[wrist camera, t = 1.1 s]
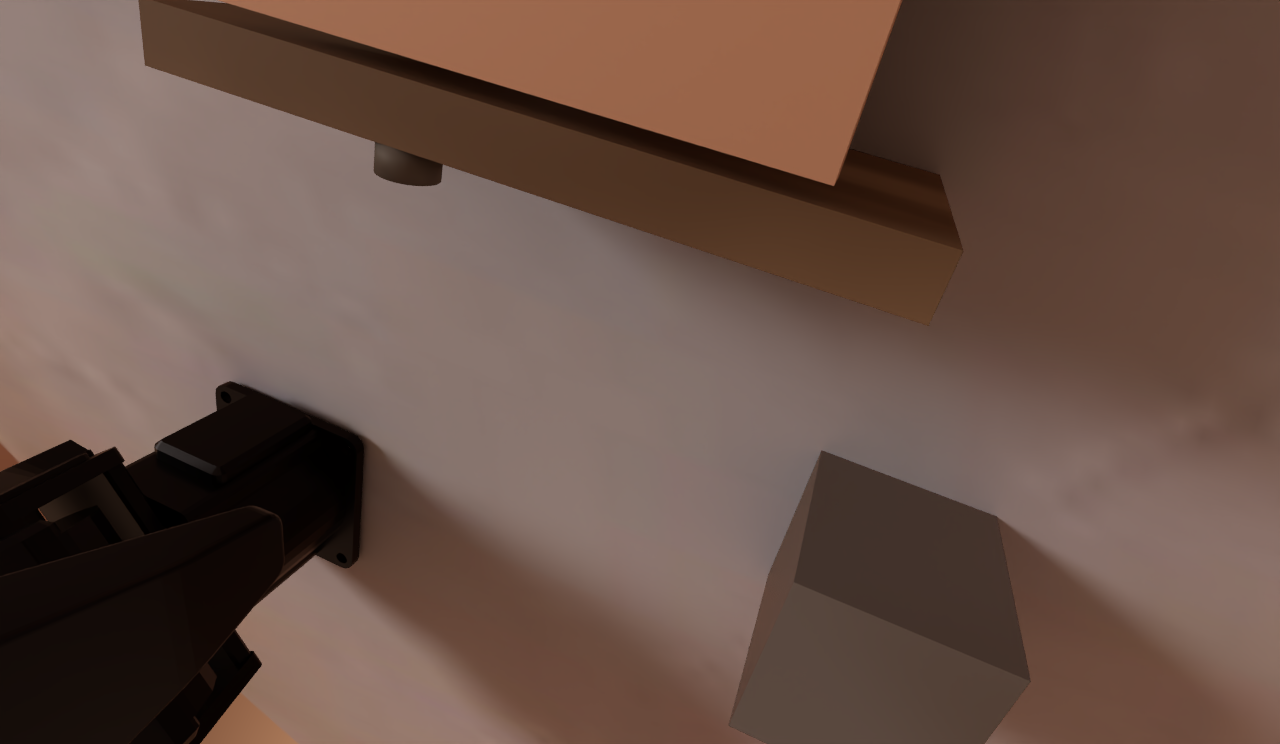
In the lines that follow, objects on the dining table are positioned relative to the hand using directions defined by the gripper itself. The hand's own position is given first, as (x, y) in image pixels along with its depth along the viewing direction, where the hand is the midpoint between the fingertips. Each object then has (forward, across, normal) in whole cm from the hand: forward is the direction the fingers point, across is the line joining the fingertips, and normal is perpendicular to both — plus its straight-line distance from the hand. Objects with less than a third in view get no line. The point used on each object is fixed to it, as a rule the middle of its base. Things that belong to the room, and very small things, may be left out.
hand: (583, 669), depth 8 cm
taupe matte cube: (+13, -5, +6) cm, 15 cm away
